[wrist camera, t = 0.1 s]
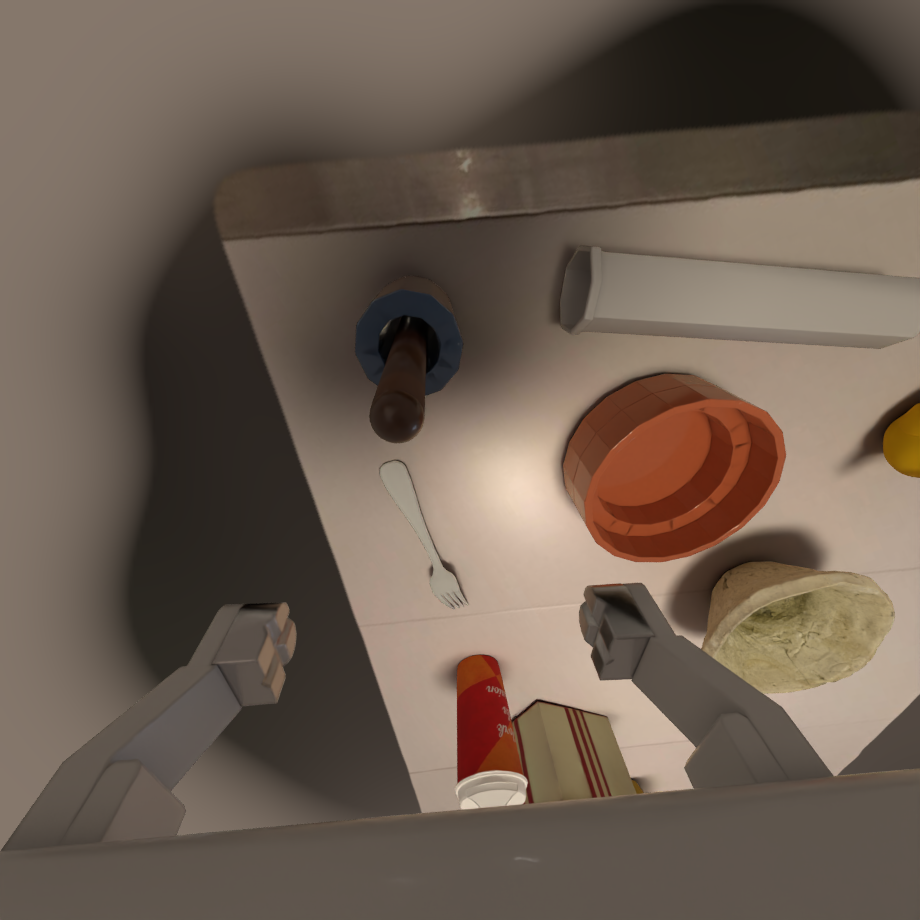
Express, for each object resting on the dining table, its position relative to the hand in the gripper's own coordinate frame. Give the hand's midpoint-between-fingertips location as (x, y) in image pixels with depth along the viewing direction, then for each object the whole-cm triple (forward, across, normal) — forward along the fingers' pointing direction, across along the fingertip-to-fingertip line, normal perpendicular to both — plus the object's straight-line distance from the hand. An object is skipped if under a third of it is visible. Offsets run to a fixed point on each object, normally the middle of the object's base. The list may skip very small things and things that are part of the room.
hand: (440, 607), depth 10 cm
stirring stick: (+21, +1, -4) cm, 21 cm away
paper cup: (+22, -5, +40) cm, 46 cm away
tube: (+22, -22, -5) cm, 31 cm away
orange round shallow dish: (+21, -19, +8) cm, 30 cm away
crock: (+21, +1, -4) cm, 22 cm away
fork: (+22, +1, +18) cm, 28 cm away
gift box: (+22, -18, +60) cm, 66 cm away
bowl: (+22, -36, +26) cm, 50 cm away
